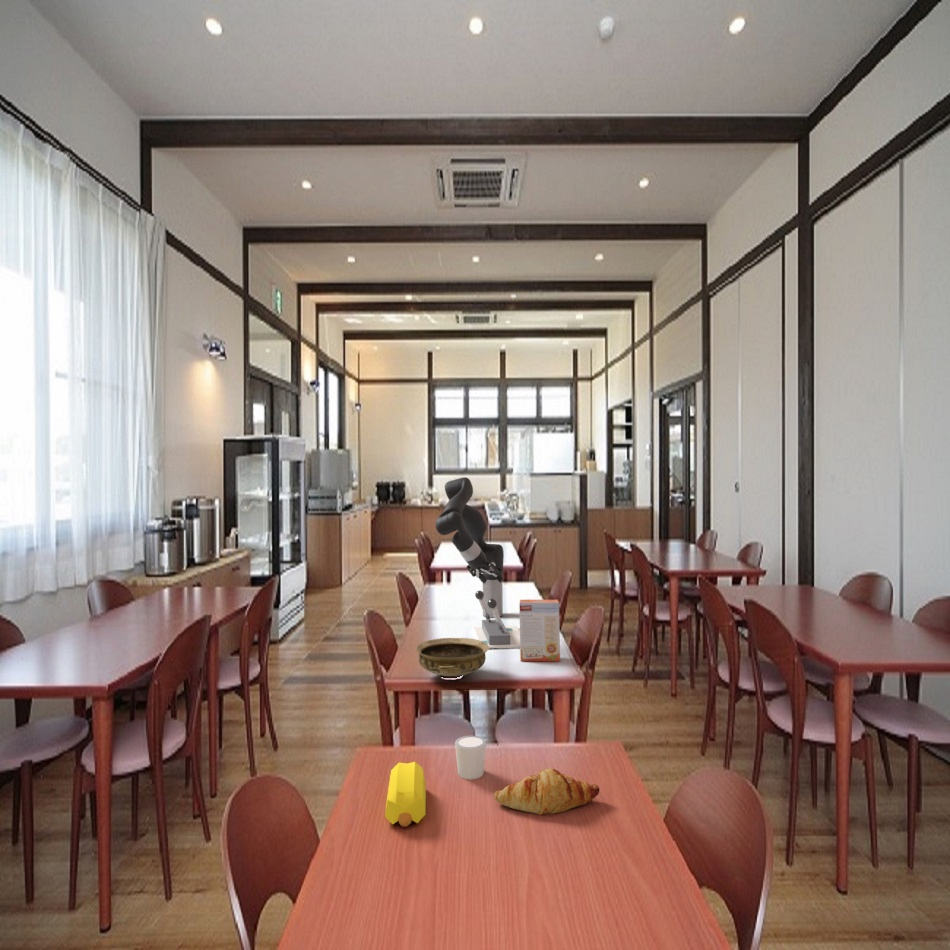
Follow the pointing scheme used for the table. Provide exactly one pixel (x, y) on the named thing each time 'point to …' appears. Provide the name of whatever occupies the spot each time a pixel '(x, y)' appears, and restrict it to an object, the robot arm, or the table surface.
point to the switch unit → (498, 635)
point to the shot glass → (470, 756)
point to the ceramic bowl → (452, 656)
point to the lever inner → (483, 604)
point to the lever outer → (496, 614)
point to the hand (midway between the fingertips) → (493, 581)
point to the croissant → (546, 793)
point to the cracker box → (539, 630)
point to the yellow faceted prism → (406, 794)
